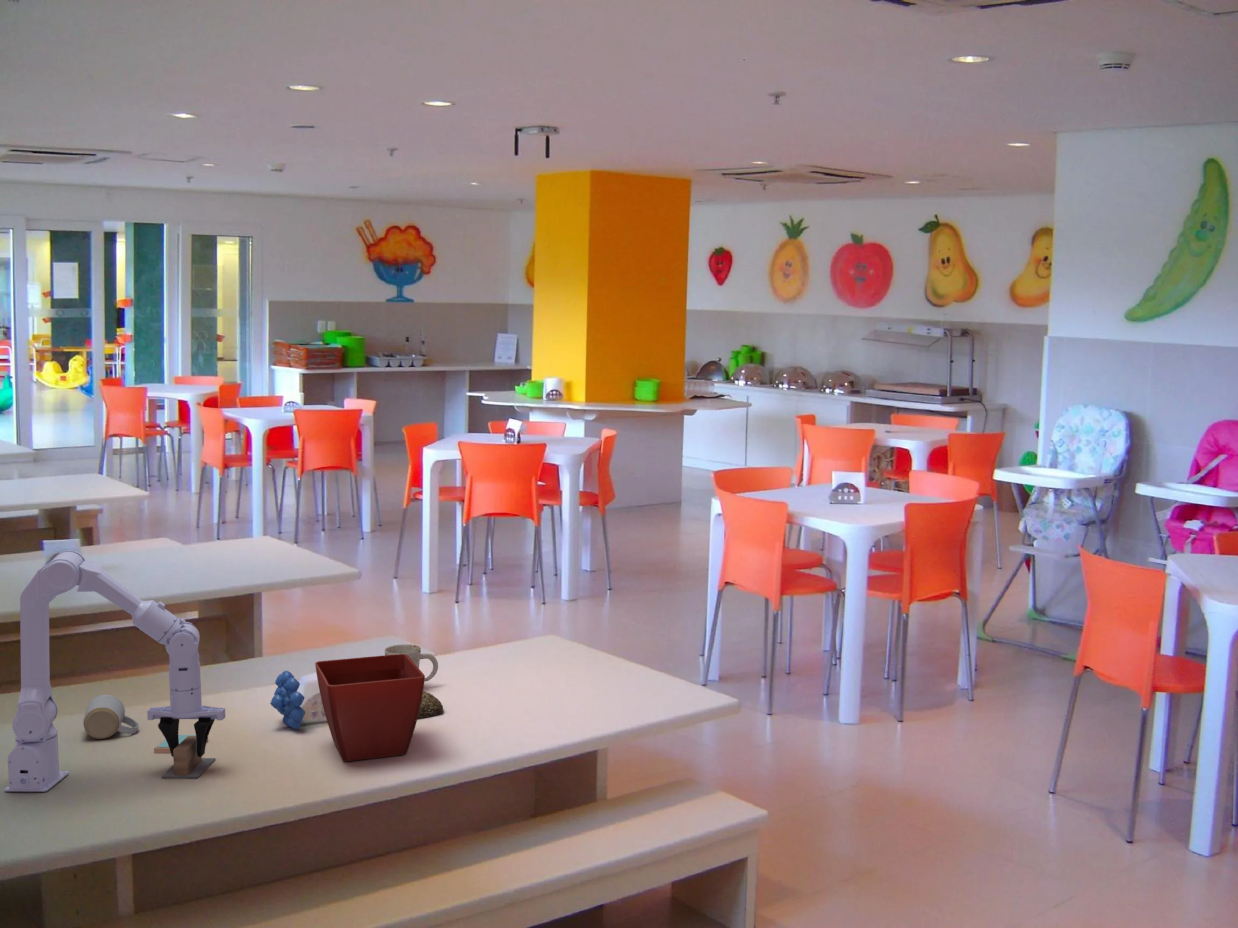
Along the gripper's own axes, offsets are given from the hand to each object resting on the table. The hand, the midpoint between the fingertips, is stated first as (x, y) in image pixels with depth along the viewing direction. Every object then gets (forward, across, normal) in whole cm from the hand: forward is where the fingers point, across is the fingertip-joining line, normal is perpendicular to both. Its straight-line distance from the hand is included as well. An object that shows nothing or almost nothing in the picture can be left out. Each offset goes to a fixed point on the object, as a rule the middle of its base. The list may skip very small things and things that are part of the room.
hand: (188, 754), depth 245 cm
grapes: (+3, -12, -25) cm, 28 cm away
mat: (+3, 0, 0) cm, 3 cm away
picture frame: (+3, +6, -9) cm, 11 cm away
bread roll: (+3, -37, -37) cm, 52 cm away
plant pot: (+3, -33, -12) cm, 35 cm away
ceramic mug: (+3, +24, -21) cm, 32 cm away
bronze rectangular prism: (+2, 0, 0) cm, 2 cm away
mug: (+3, -34, -53) cm, 63 cm away
